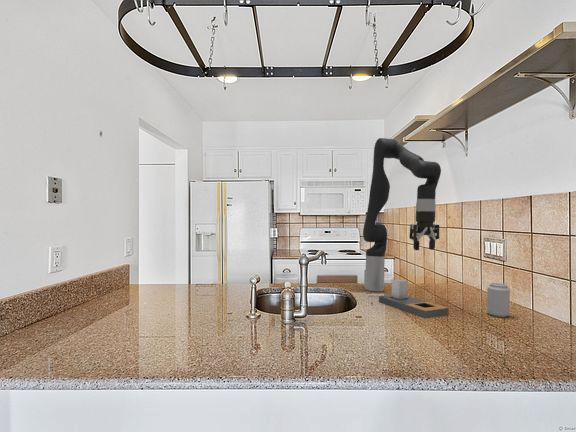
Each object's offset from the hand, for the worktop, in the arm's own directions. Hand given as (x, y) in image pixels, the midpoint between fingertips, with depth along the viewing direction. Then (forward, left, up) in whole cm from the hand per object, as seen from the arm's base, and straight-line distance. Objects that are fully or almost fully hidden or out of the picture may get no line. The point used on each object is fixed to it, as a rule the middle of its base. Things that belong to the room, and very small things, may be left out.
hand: (424, 249), depth 148 cm
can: (+19, +19, -24) cm, 36 cm away
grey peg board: (-1, -5, -24) cm, 24 cm away
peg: (-8, -5, -24) cm, 26 cm away
